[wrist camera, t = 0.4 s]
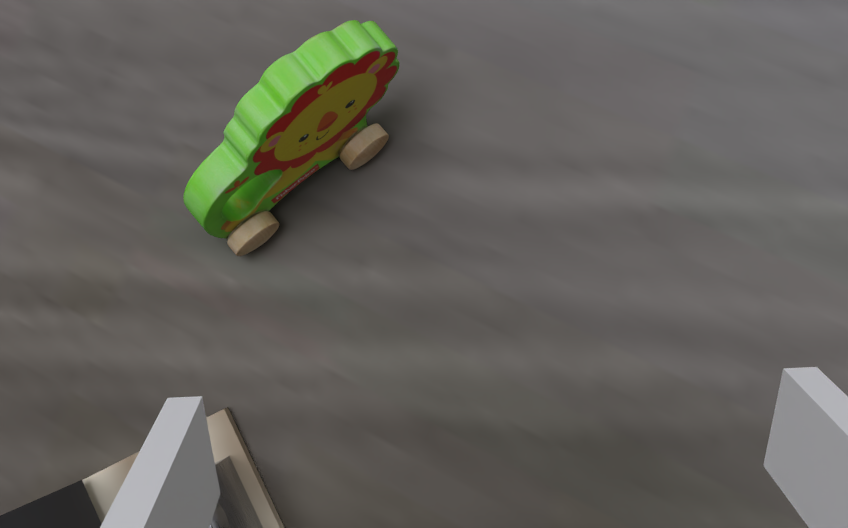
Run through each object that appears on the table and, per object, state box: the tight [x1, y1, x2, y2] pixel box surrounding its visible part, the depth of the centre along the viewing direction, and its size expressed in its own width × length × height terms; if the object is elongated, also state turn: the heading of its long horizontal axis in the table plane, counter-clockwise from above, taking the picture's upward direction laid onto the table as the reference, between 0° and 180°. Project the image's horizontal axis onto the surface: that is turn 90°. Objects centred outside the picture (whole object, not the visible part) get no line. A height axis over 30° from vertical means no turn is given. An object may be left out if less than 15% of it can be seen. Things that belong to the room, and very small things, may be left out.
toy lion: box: [183, 20, 399, 256], centre depth 43 cm, size 16×5×15 cm, turn 130°
